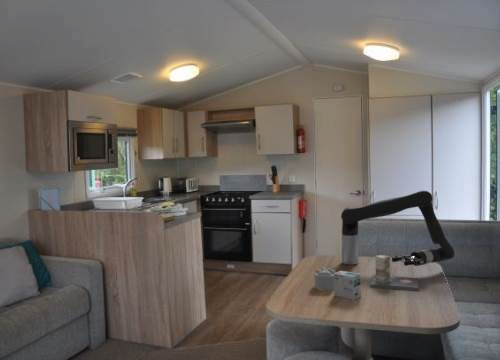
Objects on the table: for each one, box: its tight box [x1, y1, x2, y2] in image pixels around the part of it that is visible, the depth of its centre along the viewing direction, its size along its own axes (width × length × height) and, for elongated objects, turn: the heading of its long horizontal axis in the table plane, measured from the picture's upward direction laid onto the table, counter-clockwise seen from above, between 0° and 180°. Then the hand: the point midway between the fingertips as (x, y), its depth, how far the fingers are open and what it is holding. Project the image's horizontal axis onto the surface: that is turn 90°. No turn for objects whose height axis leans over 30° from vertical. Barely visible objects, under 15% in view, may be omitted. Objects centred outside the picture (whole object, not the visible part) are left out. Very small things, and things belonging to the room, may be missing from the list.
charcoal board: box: [369, 274, 420, 292], centre depth 214 cm, size 22×16×2 cm
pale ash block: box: [374, 254, 391, 282], centre depth 216 cm, size 5×5×12 cm
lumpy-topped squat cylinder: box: [314, 267, 337, 291], centre depth 214 cm, size 10×13×9 cm
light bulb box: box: [333, 270, 362, 301], centre depth 198 cm, size 11×7×11 cm, turn 47°
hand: (398, 261), depth 220 cm, fingers open, 8 cm apart
